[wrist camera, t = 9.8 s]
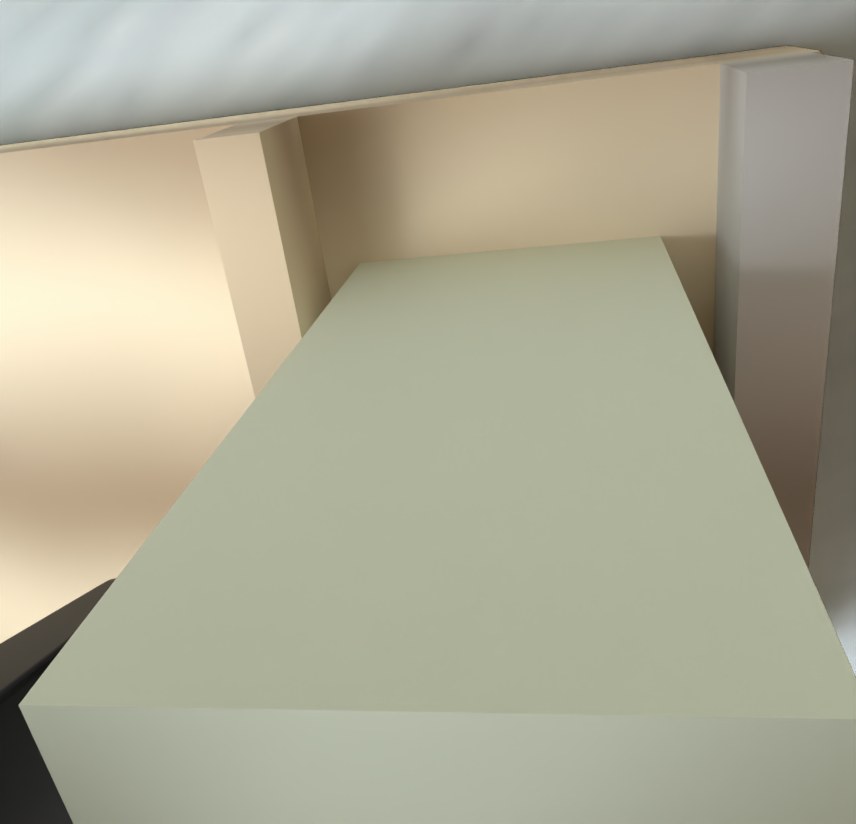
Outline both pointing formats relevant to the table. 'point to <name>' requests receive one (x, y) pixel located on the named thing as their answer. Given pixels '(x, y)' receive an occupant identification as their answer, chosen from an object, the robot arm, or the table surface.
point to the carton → (468, 581)
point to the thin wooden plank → (378, 241)
